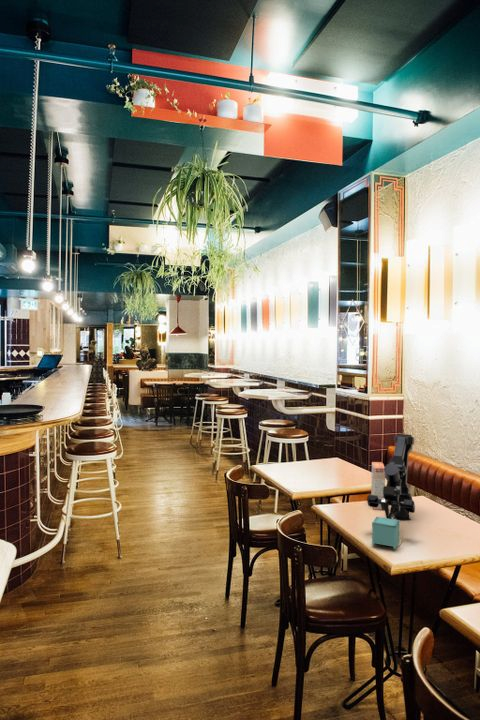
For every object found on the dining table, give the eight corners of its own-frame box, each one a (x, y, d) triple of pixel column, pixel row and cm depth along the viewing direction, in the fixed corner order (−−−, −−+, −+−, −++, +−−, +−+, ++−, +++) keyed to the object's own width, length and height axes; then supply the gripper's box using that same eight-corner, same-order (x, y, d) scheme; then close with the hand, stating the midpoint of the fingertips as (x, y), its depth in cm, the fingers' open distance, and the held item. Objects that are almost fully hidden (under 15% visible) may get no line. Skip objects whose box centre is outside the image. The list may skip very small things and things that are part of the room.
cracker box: (385, 510, 239) (385, 467, 239) (372, 509, 240) (373, 467, 240) (382, 502, 253) (383, 461, 253) (370, 501, 254) (371, 461, 254)
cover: (376, 538, 200) (376, 516, 200) (399, 542, 196) (399, 520, 196) (372, 544, 193) (372, 522, 193) (395, 549, 189) (395, 526, 189)
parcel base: (378, 534, 207) (378, 532, 207) (403, 538, 202) (403, 536, 202) (373, 542, 198) (373, 540, 198) (399, 547, 193) (399, 544, 193)
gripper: (368, 475, 207) (361, 508, 197) (414, 480, 199) (410, 515, 189) (371, 489, 214) (365, 522, 204) (416, 495, 206) (412, 529, 196)
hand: (387, 522), depth 198 cm, fingers closed, pressing on cover
